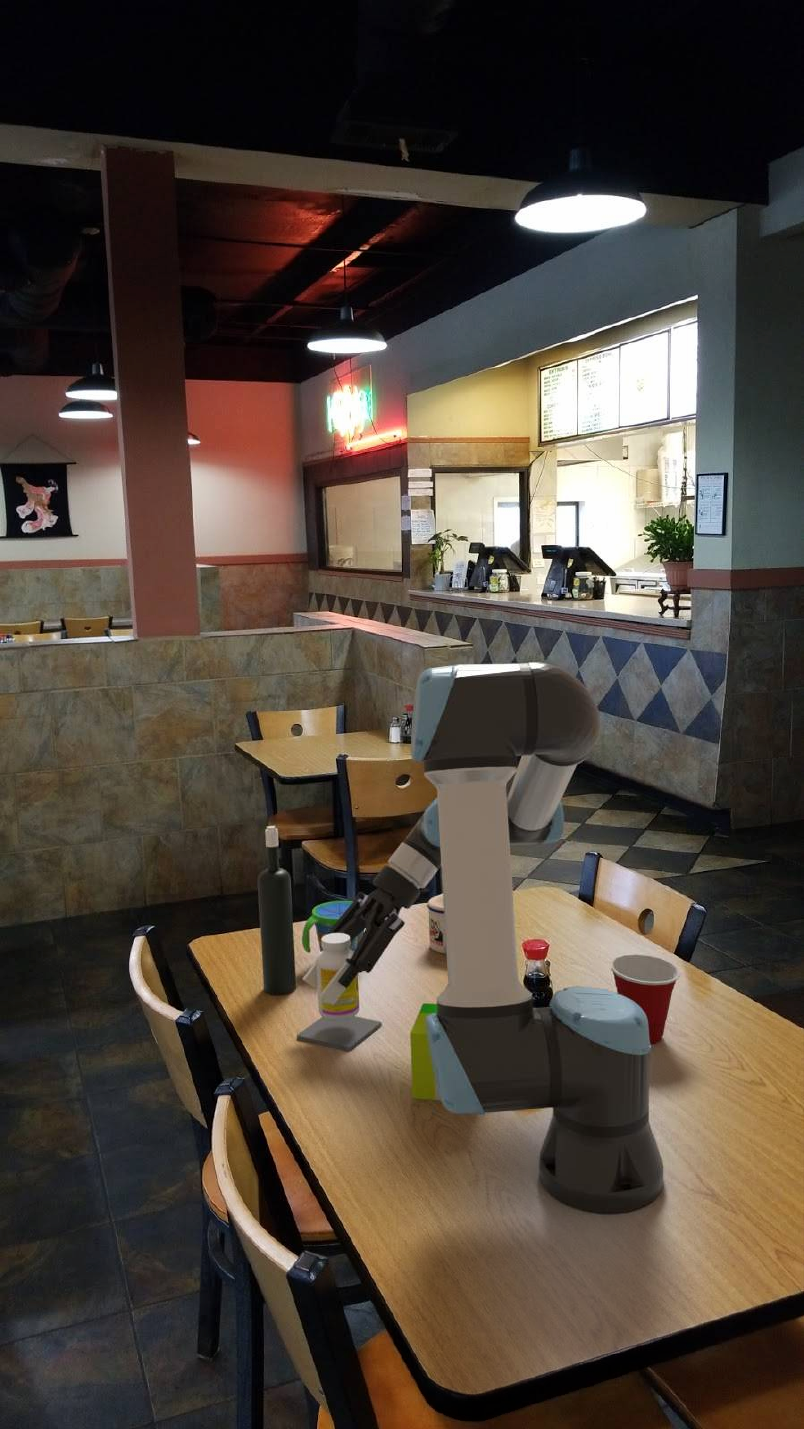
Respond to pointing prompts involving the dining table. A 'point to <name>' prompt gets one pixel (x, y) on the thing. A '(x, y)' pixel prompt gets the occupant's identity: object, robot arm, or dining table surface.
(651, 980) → the plastic cup
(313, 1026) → the coaster
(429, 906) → the teacup with lid
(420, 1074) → the puzzle toy
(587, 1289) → the dining table surface
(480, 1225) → the dining table surface
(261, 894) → the wine bottle
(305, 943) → the snack cup
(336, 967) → the supplement bottle
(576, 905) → the dining table surface
